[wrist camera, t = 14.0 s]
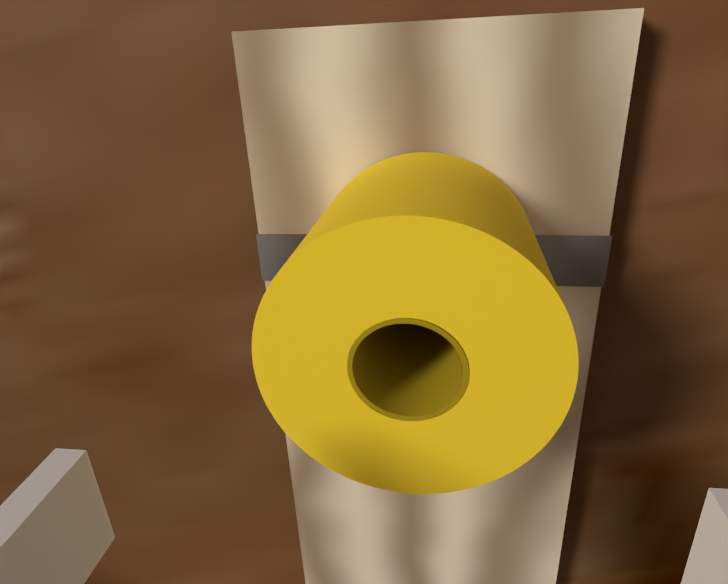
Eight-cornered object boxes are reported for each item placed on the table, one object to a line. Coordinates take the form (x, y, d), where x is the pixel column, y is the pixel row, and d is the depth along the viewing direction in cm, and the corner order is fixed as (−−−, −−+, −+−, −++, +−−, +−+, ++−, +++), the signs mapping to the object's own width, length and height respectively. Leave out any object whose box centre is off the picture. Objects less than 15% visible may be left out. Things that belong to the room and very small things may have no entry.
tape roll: (574, 196, 23) (645, 287, 14) (482, 378, 27) (495, 530, 19) (352, 119, 23) (293, 164, 14) (297, 313, 27) (226, 435, 19)
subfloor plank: (310, 567, 38) (304, 588, 36) (242, 32, 23) (228, 31, 22) (549, 592, 35) (553, 616, 34) (634, 10, 21) (647, 7, 19)
